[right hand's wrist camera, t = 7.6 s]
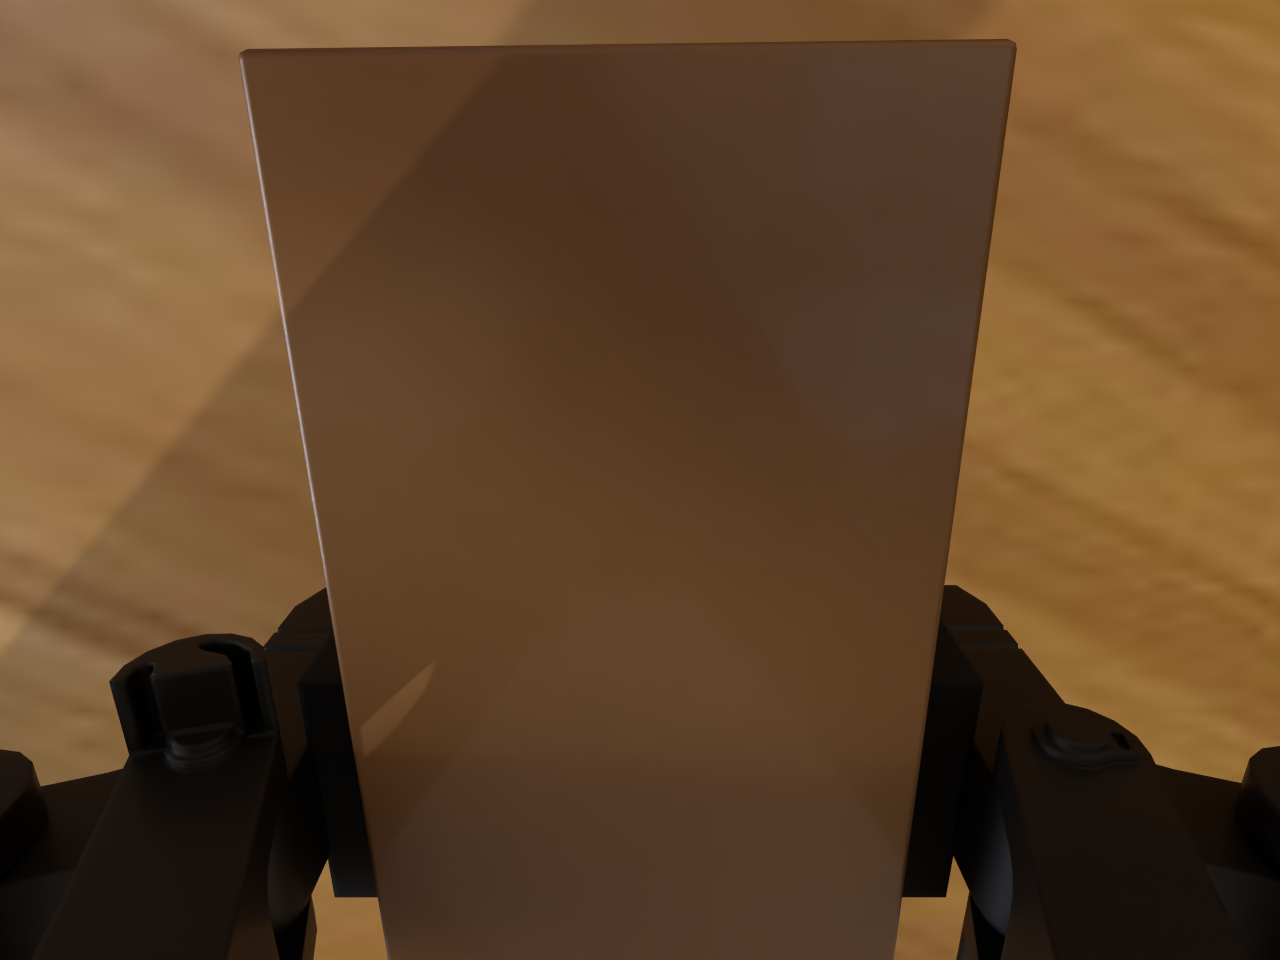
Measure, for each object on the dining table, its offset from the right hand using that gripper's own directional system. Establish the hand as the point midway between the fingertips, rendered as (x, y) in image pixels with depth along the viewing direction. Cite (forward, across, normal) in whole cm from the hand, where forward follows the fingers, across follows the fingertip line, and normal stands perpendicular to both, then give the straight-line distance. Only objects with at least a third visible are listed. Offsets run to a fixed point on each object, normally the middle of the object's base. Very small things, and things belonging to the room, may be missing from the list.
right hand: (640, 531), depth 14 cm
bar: (+1, 0, -26) cm, 26 cm away
